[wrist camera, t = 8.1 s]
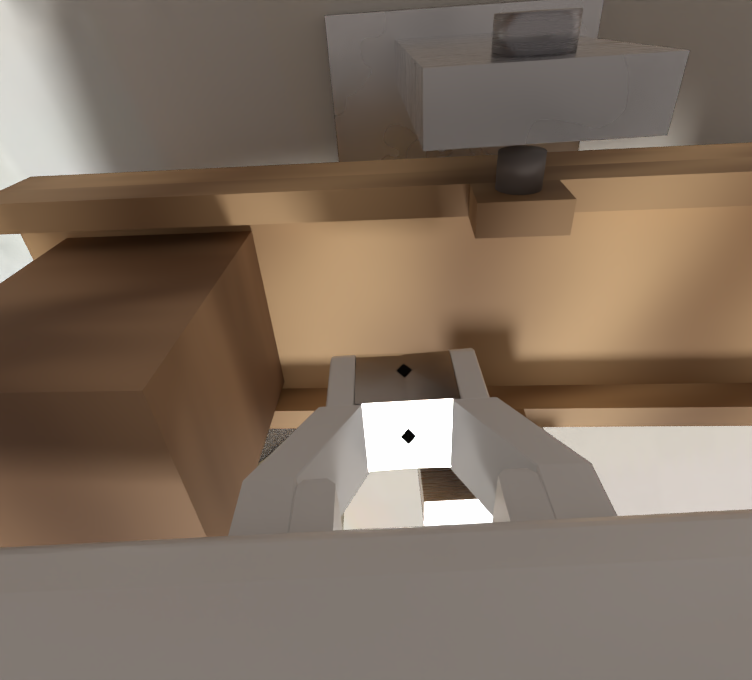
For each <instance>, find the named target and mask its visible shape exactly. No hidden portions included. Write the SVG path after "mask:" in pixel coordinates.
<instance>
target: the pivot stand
mask: <svg viewBox="0 0 752 680" xmlns="http://www.w3.org/2000/svg"><path fill="white" fill-rule="evenodd" d="M603 2H604V0H537V1H523V2H509V3H495V4H481V5H467V6H453V7H439V8H425V9H411V10H396V11H382V12H368V13H354V14H340V15H326V16H325V24H326V34H327V44H328V55H329V65H330V75H331V85H332V95H333V105H334V115H335V125H336V136H337V146H338V156H339V162H353V161H374V160H395V159H416V158H437V157H458V156H479V155H498V150H499V149H501V148H503V147H507V146H515V145H531V146H538V147H542V148H545V149H546V150H547V152H563V151H578V148H579V142H580V141H586V140H602V139H617V138H632V137H647V136H663V135H667V134H668V130H669V126H670V123H671V119H672V115H673V112H674V108H675V104H676V100H677V97H678V93H679V89H680V85H681V82H682V78H683V74H684V70H685V67H686V63H687V59H688V55H689V52H690V50H685V49H677V48H669V47H661V46H654V45H646V44H638V43H630V42H622V41H614V40H606V39H598V38H597V37H598V31H599V26H600V20H601V14H602V8H603ZM540 428H542V429H543V427H540ZM543 430H544V429H543ZM418 477H419V486H420V495H421V504H422V512H423V521H424V526H431V525H450V524H470V523H489V522H492V519H493V516H492V515H491V514H490V513H489V512H488V511H487V509H486V508H485V507H484V506H483V505H482V504H481V503H480V501H479V500H478V499H477V498H476V497H475V496H474V495H473V494H472V492H471V491H470V490H469V489H468V488H467V487H466V486H465V485H464V483H463V482H462V481H461V480H460V479H459V478H458V477H457V475H456V474H455V473H454V472H453V471H452V470H451V467H431V468H418Z"/></svg>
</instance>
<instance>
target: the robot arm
mask: <svg viewBox="0 0 752 680" xmlns="http://www.w3.org/2000/svg"><path fill="white" fill-rule="evenodd" d="M431 467H451V470H452V471H453V472H454V473H455V474H456V475H457V477H458V478H459V479H460V480H461V481H462V482H463V483H464V485H465V486H466V487H467V488H468V489H469V490H470V491H471V492H472V494H473V495H474V496H475V497H476V498H477V499H478V500H479V501H480V503H481V504H482V505H483V506H484V507H485V508H486V509H487V511H488V512H489V513H490V514H491V515H492V516H493V519H492V522H489V523H470V524H450V525H431V526H411V527H392V528H372V529H353V530H343V528H342V522H341V516H342V514H343V513H344V511H345V510H346V508H347V507H348V505H349V504H350V502H351V500H352V499H353V497H354V496H355V494H356V493H357V491H358V490H359V488H360V486H361V485H362V483H363V482H364V480H365V479H366V477H367V476H368V474H369V471H379V470H391V469H404V468H431ZM0 680H752V509H747V510H727V511H708V512H689V513H670V514H651V515H631V516H617V514H616V512H615V510H614V508H613V506H612V504H611V502H610V500H609V498H608V496H607V494H606V492H605V490H604V488H603V486H602V484H601V482H600V480H599V478H598V476H597V474H596V472H595V470H594V468H593V466H592V463H590V462H589V461H587V460H586V459H585V458H583V457H582V456H580V455H579V454H577V453H576V452H575V451H573V450H572V449H570V448H569V447H567V446H566V445H565V444H563V443H562V442H560V441H559V440H557V439H556V438H555V437H553V436H552V435H550V434H549V433H547V432H546V431H545V430H543V429H542V428H540V427H539V426H537V425H536V424H535V423H533V422H532V421H530V420H529V419H527V418H526V417H524V416H523V415H522V414H520V413H519V412H517V411H516V410H514V409H513V408H512V407H510V406H509V405H507V404H506V403H504V402H503V401H502V400H500V399H499V398H497V397H489V394H488V391H487V388H486V384H485V381H484V378H483V375H482V372H481V369H480V366H479V363H478V360H477V357H476V354H475V351H474V350H473V349H472V348H464V349H453V350H448V351H435V352H420V353H404V354H402V353H394V354H366V355H356V356H355V355H345V356H332V358H331V361H330V371H329V381H328V390H327V400H326V407H318V408H317V409H316V410H315V411H314V412H313V413H312V414H311V415H310V416H309V417H308V418H307V419H306V420H305V421H304V422H303V423H302V424H301V425H300V426H299V427H298V428H297V429H296V430H295V431H294V432H293V433H292V434H291V435H290V436H289V437H288V438H287V439H285V440H284V441H283V442H282V443H281V444H280V445H279V446H278V447H277V448H276V449H275V450H274V451H273V452H272V453H271V454H270V455H269V456H268V457H267V458H266V459H265V460H264V461H263V462H262V463H261V464H260V465H259V466H258V467H257V468H256V469H255V470H254V471H253V472H251V473H250V474H249V475H248V476H247V477H246V478H245V479H244V480H243V482H242V486H241V489H240V493H239V497H238V501H237V504H236V508H235V512H234V516H233V519H232V523H231V527H230V531H229V534H228V536H215V537H196V538H176V539H156V540H137V541H117V542H97V543H78V544H58V545H38V546H18V547H0Z"/></svg>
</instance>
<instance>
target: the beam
mask: <svg viewBox="0 0 752 680" xmlns="http://www.w3.org/2000/svg"><path fill="white" fill-rule="evenodd" d="M235 231H252V234H253V239H254V243H255V248H256V253H257V257H258V262H259V267H260V271H261V276H262V280H263V285H264V290H265V294H266V299H267V303H268V308H269V313H270V317H271V322H272V326H273V331H274V336H275V340H276V345H277V349H278V354H279V359H280V363H281V368H282V373H283V377H284V385H283V388H282V391H281V394H280V397H279V400H278V403H277V407H276V410H275V413H274V416H273V419H272V422H271V425H270V428H269V429H285V428H298V427H299V426H300V425H301V424H302V423H303V422H304V421H305V420H306V419H307V418H308V417H309V416H310V415H311V414H312V413H313V412H314V411H315V410H316V409H317V408H318V407H326V400H327V390H328V381H329V371H330V361H331V358H332V356H345V355H355V356H356V355H366V354H394V353H402V354H404V353H420V352H435V351H448V350H453V349H464V348H472V349H473V350H474V351H475V354H476V357H477V360H478V363H479V366H480V369H481V372H482V375H483V378H484V381H485V384H486V388H487V391H488V394H489V397H497V398H499V399H500V400H502V401H503V402H504V403H506V404H507V405H509V406H510V407H512V408H513V409H514V410H516V411H517V412H519V413H520V414H522V415H523V416H524V417H526V418H527V419H529V420H530V421H532V422H533V423H535V424H536V425H537V426H539V427H609V426H752V143H731V144H710V145H689V146H668V147H647V148H626V149H605V150H584V151H563V152H547V150H546V149H545V148H542V147H538V146H531V145H515V146H507V147H503V148H501V149H499V150H498V155H479V156H458V157H437V158H416V159H395V160H374V161H353V162H332V163H311V164H290V165H268V166H247V167H226V168H205V169H184V170H163V171H142V172H121V173H100V174H79V175H58V176H37V177H29V178H27V179H25V180H23V181H21V182H18V183H16V184H14V185H12V186H10V187H7V188H5V189H3V190H1V191H0V234H21V236H22V238H23V240H24V242H25V244H26V246H27V248H28V250H29V252H30V254H31V256H32V258H33V260H35V259H37V258H38V257H40V256H41V255H43V254H44V253H46V252H47V251H48V250H50V249H51V248H53V247H54V246H56V245H57V244H59V243H60V242H62V241H63V240H65V239H66V238H81V237H107V236H132V235H158V234H184V233H209V232H235Z"/></svg>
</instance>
